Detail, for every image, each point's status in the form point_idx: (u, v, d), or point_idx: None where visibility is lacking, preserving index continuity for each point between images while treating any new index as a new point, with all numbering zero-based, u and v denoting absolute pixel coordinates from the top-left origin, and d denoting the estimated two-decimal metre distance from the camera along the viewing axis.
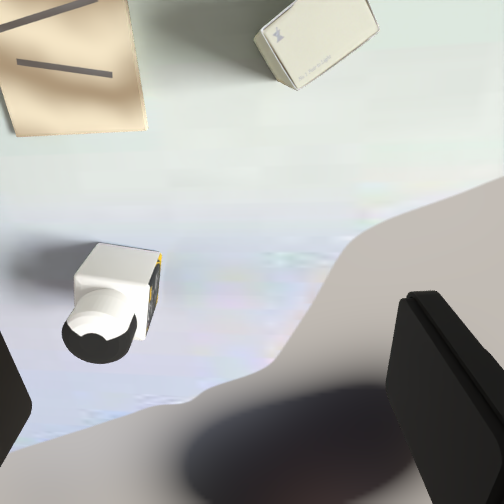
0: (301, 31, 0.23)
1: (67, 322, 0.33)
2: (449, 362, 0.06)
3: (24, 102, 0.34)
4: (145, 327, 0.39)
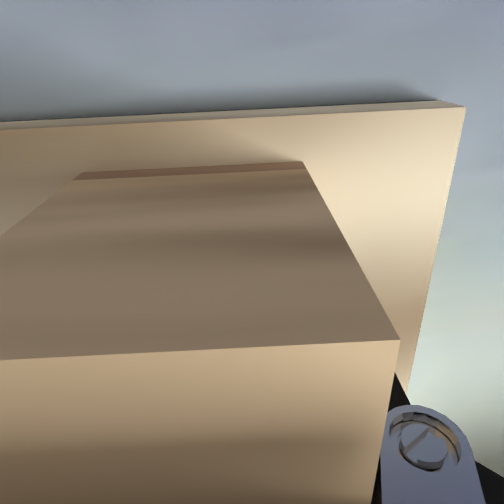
0: None
1: None
2: None
3: None
4: None
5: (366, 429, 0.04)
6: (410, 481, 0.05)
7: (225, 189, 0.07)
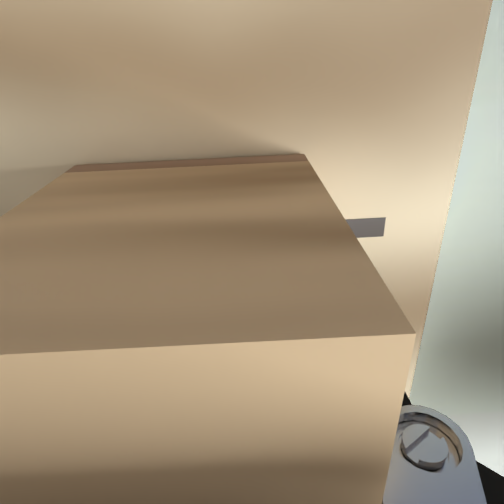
0: None
1: None
2: None
3: None
4: None
5: (376, 432, 0.04)
6: (411, 481, 0.05)
7: (224, 180, 0.07)
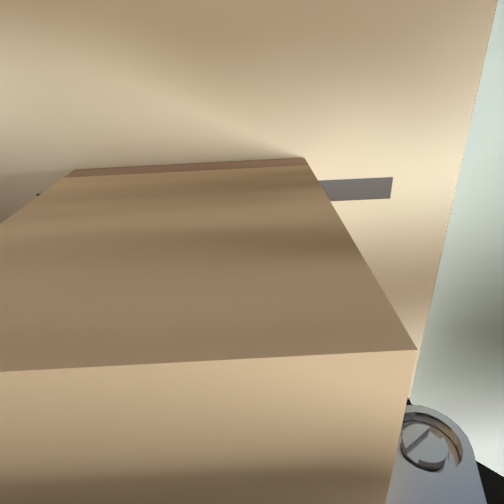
0: None
1: None
2: None
3: None
4: None
5: (377, 446, 0.04)
6: (411, 481, 0.05)
7: (223, 186, 0.07)
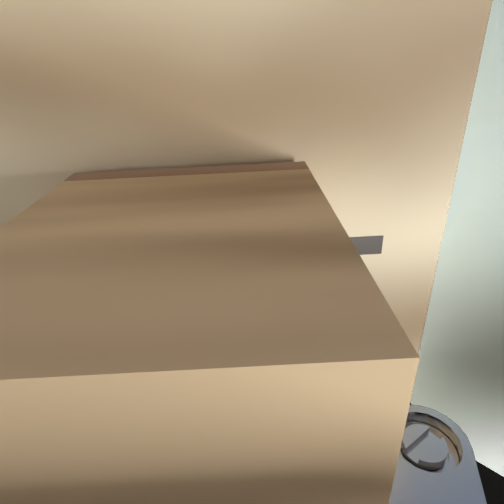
0: None
1: None
2: None
3: None
4: None
5: (379, 454, 0.04)
6: (411, 481, 0.05)
7: (224, 190, 0.07)
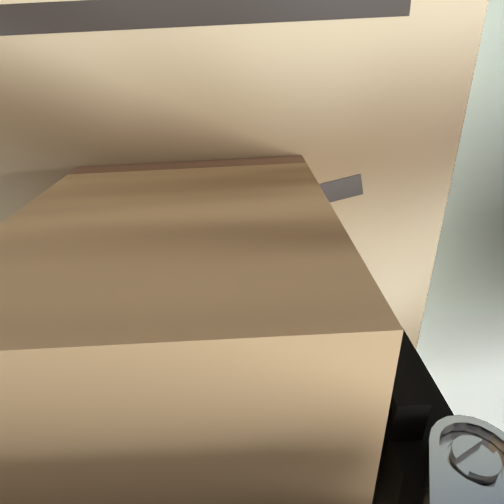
0: None
1: None
2: None
3: None
4: None
5: (367, 423, 0.04)
6: (461, 492, 0.05)
7: (223, 182, 0.07)
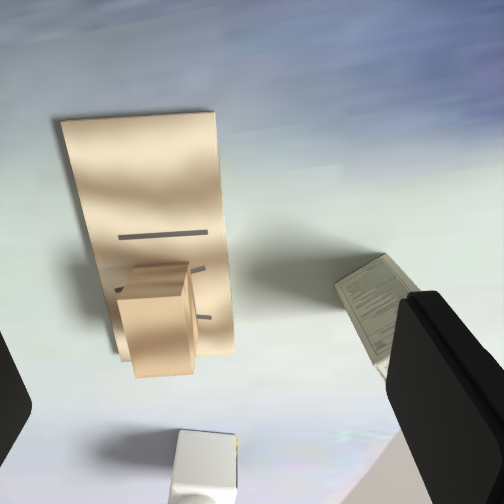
0: None
1: None
2: (449, 362, 0.06)
3: None
4: None
5: (180, 308, 0.30)
6: None
7: (168, 271, 0.34)
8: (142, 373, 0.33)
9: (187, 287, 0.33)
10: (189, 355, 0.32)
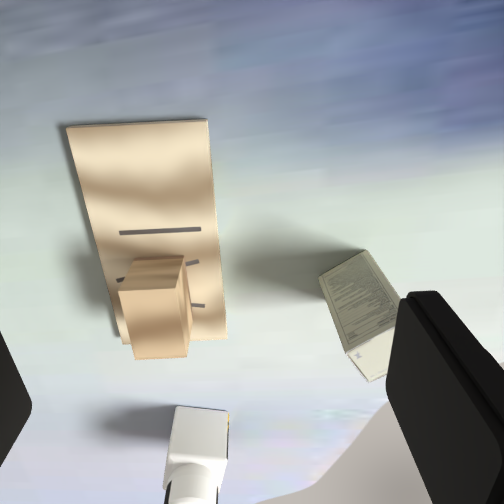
0: (375, 353, 0.31)
1: None
2: (449, 362, 0.06)
3: None
4: (220, 485, 0.48)
5: (175, 299, 0.34)
6: None
7: (164, 264, 0.37)
8: (141, 355, 0.37)
9: (182, 279, 0.37)
10: (183, 340, 0.36)
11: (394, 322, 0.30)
